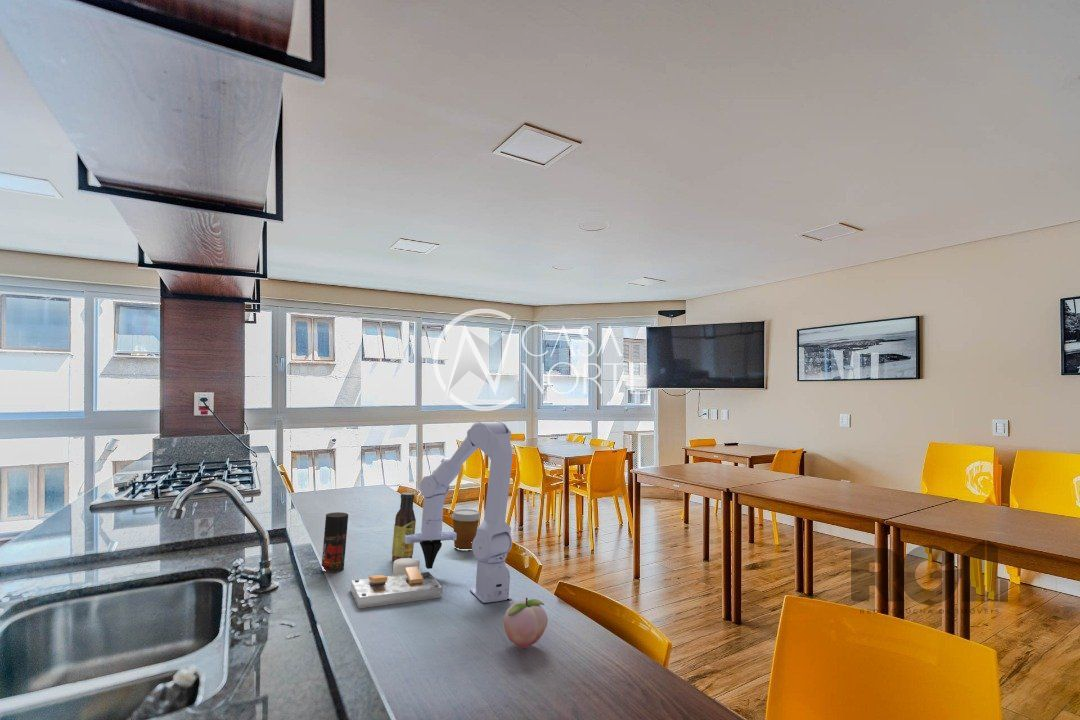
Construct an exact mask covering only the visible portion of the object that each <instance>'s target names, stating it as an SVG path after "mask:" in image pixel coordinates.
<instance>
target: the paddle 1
mask: <svg viewBox="0 0 1080 720" xmlns="http://www.w3.org/2000/svg"><path fill="white" fill-rule="evenodd" d="M368 578H369V581H371V582H373V583H378V582H387V576H385V575H384V574H378V575H377V574H375V575H368Z"/></svg>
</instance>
